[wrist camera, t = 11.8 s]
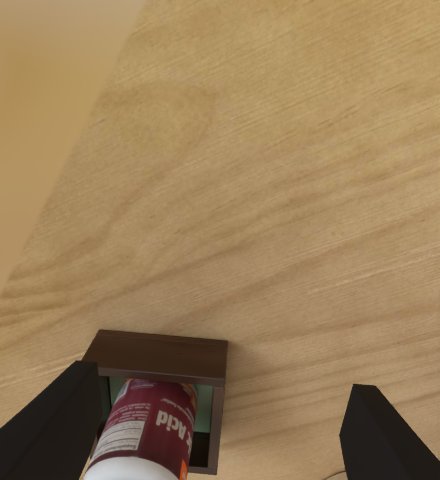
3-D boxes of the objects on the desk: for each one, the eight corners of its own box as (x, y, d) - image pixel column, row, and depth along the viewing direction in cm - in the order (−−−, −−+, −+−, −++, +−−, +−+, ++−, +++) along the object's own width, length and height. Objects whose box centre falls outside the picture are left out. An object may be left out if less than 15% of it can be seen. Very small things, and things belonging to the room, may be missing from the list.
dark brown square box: (219, 431, 24) (216, 475, 21) (107, 420, 24) (90, 463, 22) (227, 340, 21) (225, 379, 18) (99, 329, 21) (77, 365, 18)
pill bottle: (211, 407, 22) (195, 577, 15) (146, 426, 23) (99, 594, 16) (176, 351, 21) (137, 509, 13) (107, 375, 22) (34, 534, 14)
